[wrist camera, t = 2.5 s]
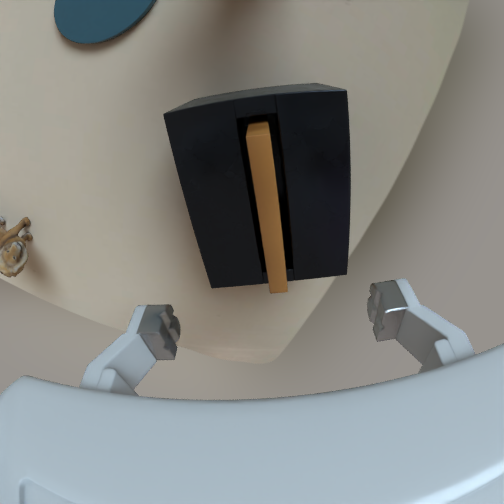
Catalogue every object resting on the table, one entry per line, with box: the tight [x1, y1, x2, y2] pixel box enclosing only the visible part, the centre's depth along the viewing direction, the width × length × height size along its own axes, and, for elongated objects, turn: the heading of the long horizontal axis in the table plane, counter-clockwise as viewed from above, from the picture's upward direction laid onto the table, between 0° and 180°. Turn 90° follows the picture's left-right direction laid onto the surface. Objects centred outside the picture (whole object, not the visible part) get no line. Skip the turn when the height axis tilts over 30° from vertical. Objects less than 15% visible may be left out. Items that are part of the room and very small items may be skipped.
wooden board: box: [246, 114, 288, 294], centre depth 20 cm, size 1×10×10 cm, turn 8°
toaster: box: [164, 83, 351, 288], centre depth 23 cm, size 11×15×9 cm
